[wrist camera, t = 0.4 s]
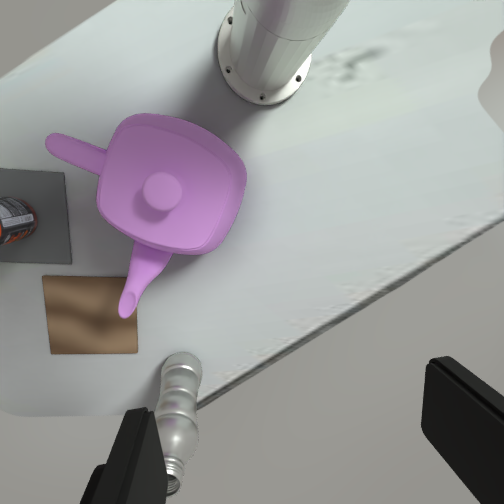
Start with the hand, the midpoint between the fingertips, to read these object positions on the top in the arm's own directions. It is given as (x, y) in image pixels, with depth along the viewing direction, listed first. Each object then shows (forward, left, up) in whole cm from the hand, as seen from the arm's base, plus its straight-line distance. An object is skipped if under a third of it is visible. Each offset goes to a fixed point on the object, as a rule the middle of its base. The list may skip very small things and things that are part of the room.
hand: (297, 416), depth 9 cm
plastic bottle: (+24, -7, -36) cm, 44 cm away
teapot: (-5, -8, -36) cm, 37 cm away
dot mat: (0, -30, -36) cm, 47 cm away
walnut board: (+15, -21, -36) cm, 44 cm away
